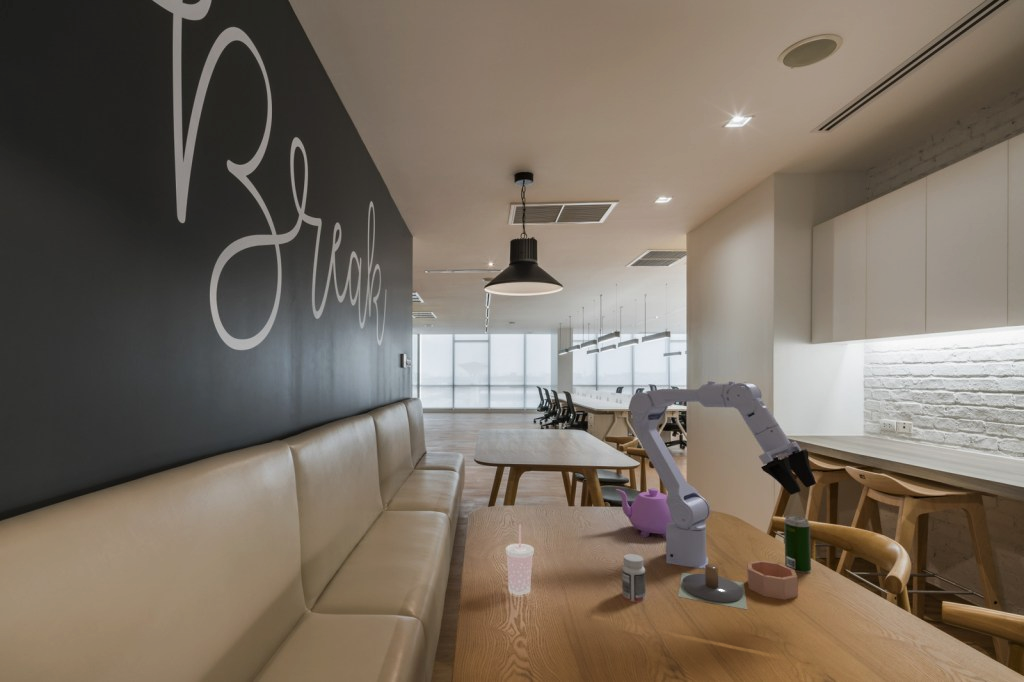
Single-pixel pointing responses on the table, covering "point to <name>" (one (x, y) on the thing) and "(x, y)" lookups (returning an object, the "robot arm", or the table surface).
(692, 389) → the robot arm
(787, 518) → the beer can
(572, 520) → the table surface
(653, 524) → the teapot
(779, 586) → the bowl
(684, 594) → the mat
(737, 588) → the lid
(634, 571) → the pill bottle
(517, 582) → the beverage cup
